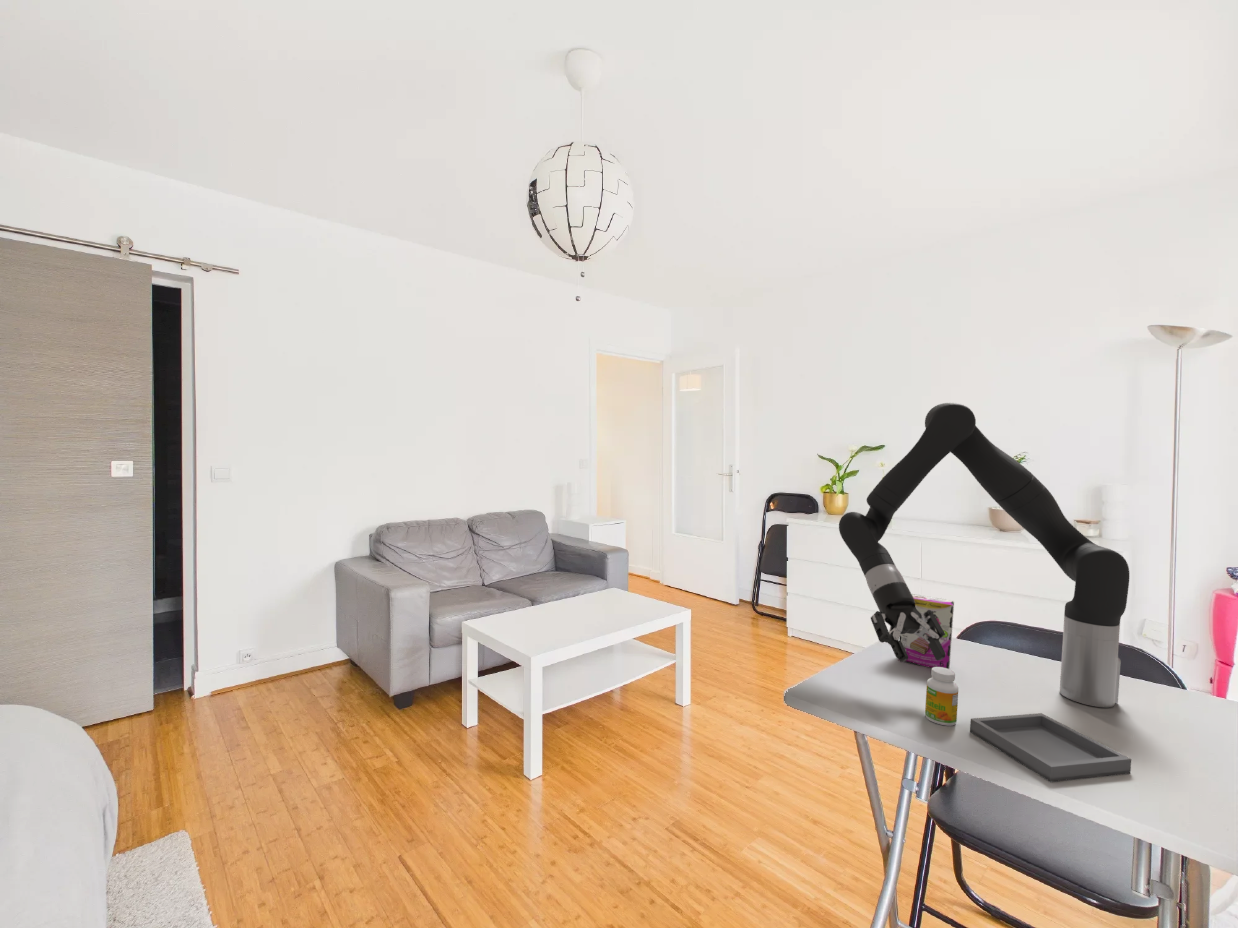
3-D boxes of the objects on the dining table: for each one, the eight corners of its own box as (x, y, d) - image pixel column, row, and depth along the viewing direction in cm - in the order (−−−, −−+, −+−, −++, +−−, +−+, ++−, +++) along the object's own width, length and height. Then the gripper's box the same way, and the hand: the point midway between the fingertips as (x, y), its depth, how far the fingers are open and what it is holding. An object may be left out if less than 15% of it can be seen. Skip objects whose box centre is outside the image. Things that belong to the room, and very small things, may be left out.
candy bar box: (897, 661, 141) (901, 596, 140) (900, 655, 145) (903, 592, 144) (949, 672, 135) (953, 604, 134) (950, 665, 139) (954, 599, 138)
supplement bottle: (919, 717, 111) (922, 668, 111) (932, 710, 114) (935, 663, 114) (949, 729, 107) (952, 678, 107) (961, 721, 110) (964, 672, 110)
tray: (1040, 725, 109) (1041, 713, 109) (1130, 773, 94) (1131, 758, 94) (969, 731, 106) (970, 718, 106) (1050, 782, 91) (1051, 766, 90)
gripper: (868, 580, 122) (902, 652, 111) (926, 580, 125) (964, 650, 114) (852, 598, 128) (883, 668, 117) (908, 597, 130) (942, 665, 120)
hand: (923, 659), depth 116 cm, fingers open, 8 cm apart
